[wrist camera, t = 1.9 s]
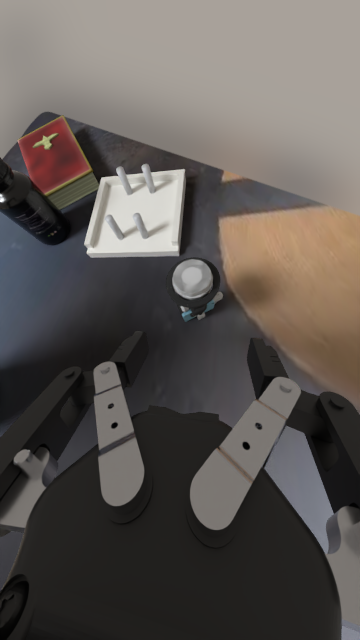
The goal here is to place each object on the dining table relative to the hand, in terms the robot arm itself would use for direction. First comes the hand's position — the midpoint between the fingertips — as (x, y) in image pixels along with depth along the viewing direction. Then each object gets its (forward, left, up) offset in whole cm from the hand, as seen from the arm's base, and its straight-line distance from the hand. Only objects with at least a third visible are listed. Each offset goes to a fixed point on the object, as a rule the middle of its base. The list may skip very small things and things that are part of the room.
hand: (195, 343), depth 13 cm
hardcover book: (-32, +38, -12) cm, 51 cm away
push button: (0, +7, -11) cm, 13 cm away
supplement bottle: (-29, +22, -11) cm, 38 cm away
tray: (-12, +24, -11) cm, 29 cm away
